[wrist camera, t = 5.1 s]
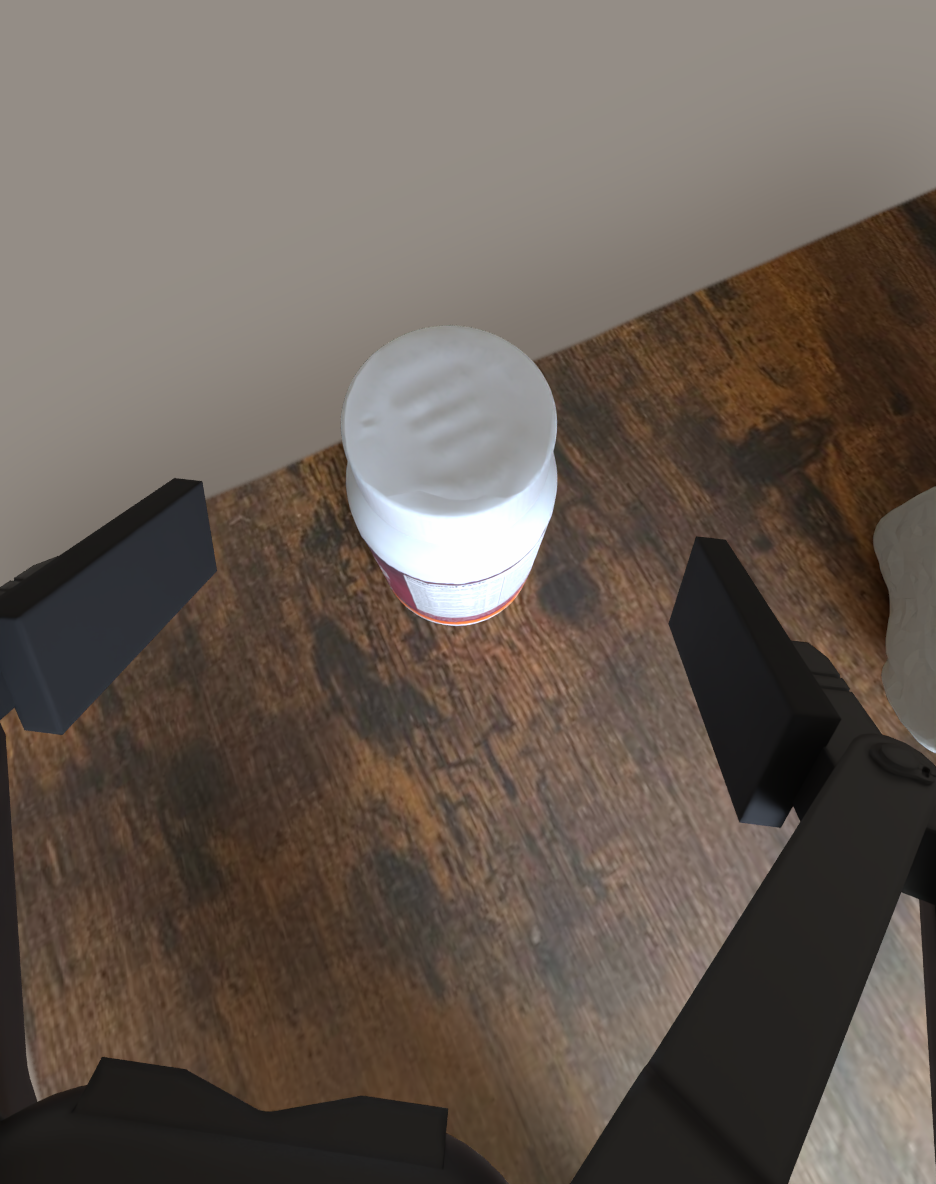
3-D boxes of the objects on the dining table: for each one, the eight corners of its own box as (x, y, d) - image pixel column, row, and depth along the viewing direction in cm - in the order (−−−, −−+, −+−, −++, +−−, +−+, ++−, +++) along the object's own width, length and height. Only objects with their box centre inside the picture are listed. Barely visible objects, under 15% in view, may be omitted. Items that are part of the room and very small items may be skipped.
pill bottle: (378, 498, 25) (306, 317, 14) (519, 480, 25) (555, 288, 14) (391, 638, 24) (323, 557, 13) (541, 619, 24) (600, 523, 13)
